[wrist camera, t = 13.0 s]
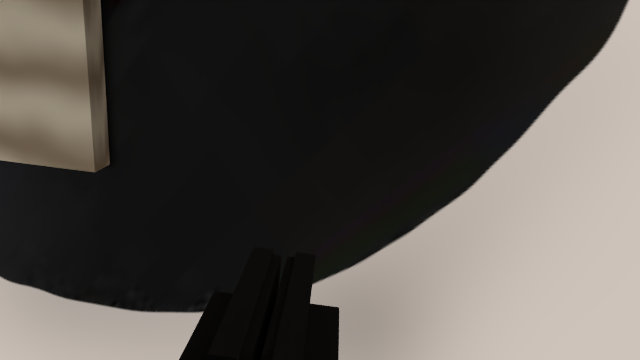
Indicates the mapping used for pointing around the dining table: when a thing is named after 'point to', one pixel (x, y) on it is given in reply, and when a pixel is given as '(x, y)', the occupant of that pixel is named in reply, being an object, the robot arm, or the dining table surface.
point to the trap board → (53, 84)
